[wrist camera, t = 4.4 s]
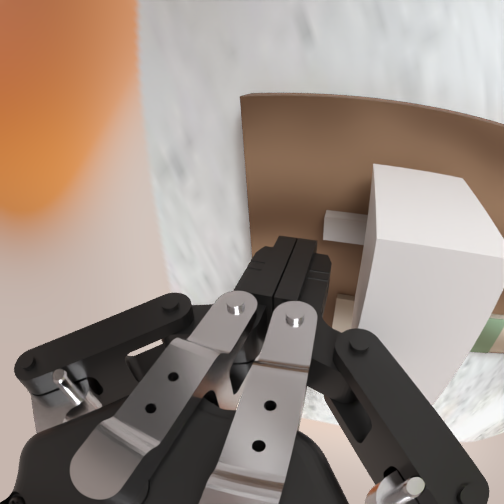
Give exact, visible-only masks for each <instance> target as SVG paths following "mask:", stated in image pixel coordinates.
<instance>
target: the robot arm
mask: <svg viewBox="0 0 504 504" xmlns="http://www.w3.org/2000/svg"><path fill="white" fill-rule="evenodd" d="M331 266H332V263H331V261H330V258H329V256H328V255H325V254H318V253H317V240H310V239H303V238H295V237H287V236H279V237H278V239H277V241H276V243H275V244H274V246H273V247H268V246H264V247H263V248H261V249H260V250H258V251H257V252H256V253H255V255H254V256H253V258H252V260H251V262H250V263H249V265H248V267H247V269H246V270H245V272H244V273H243V275H242V277H241V279H240V280H239V282H238V284H237V285H236V287H235V289H234V291H231V292H227V293H225V294H223V295H221V296H220V297H219V298H218V299H217V300H216V301H215V303H214V304H212V305H191V301H190V299H189V298H188V297H187V296H186V295H184V294H181V293H169V294H165V295H163V296H160V297H158V298H156V299H153V300H150V301H148V302H146V303H143V304H141V305H138V306H136V307H134V308H131V309H129V310H126V311H124V312H121V313H119V314H116V315H114V316H112V317H109V318H107V319H104V320H102V321H99V322H97V323H95V324H92V325H90V326H87V327H85V328H82V329H80V330H77V331H75V332H72V333H70V334H68V335H65V336H62V337H60V338H58V339H55V340H53V341H50V342H48V343H45V344H43V345H40V346H38V347H35V348H33V349H30V350H28V351H26V352H24V353H23V354H22V355H21V356H20V357H19V358H18V360H17V362H16V364H15V367H14V372H15V375H16V377H17V378H18V379H19V380H20V382H21V383H22V384H23V385H24V386H25V387H26V388H27V390H28V391H29V393H30V394H31V399H32V407H33V414H34V421H35V427H36V432H37V434H35V435H34V436H33V437H32V438H30V439H29V441H28V442H27V443H26V445H25V446H24V448H23V450H22V453H21V456H20V462H19V470H18V475H17V480H16V483H15V486H14V489H13V492H12V493H11V495H10V496H9V497H8V498H7V499H5V500H4V501H2V502H0V504H349V503H348V501H347V499H346V497H345V495H344V493H343V491H342V489H341V487H340V485H339V483H338V481H337V479H336V477H335V475H334V473H333V471H332V469H331V467H330V465H329V463H328V461H327V459H326V457H325V455H324V453H323V452H322V451H321V449H320V448H319V447H318V445H317V444H316V443H314V441H313V440H311V439H310V438H309V437H308V436H306V435H305V434H303V433H302V432H300V431H299V426H300V420H301V416H302V411H303V406H304V401H305V395H306V390H307V386H308V387H310V388H312V389H314V390H316V391H318V392H320V393H322V394H324V399H325V401H326V403H327V405H328V406H329V408H330V410H331V411H332V413H333V415H334V417H335V418H336V420H337V422H338V423H339V425H340V427H341V428H342V430H343V432H344V433H345V435H346V437H347V438H348V440H349V442H350V443H351V445H352V447H353V448H354V450H355V452H356V453H357V455H358V457H359V458H360V460H361V462H362V463H363V465H364V467H365V468H366V470H367V472H368V473H369V475H370V476H371V478H372V480H373V481H374V483H375V486H374V487H373V488H372V489H371V490H370V491H369V493H368V494H367V497H366V500H365V504H487V501H488V498H489V486H488V483H487V481H486V479H485V478H484V476H483V475H482V474H481V472H480V471H479V469H478V468H477V466H476V465H475V464H474V462H473V461H472V459H471V458H470V457H469V455H468V454H467V452H466V451H465V450H464V448H463V447H462V446H461V444H460V443H459V441H458V440H457V439H456V437H455V436H454V435H453V433H452V432H451V431H450V429H449V428H448V427H447V425H446V424H445V422H444V421H443V420H442V418H441V417H440V416H439V415H438V413H437V412H436V411H435V409H434V408H433V407H432V405H431V404H430V403H429V401H428V400H427V399H426V398H425V396H424V395H423V394H422V392H421V391H420V390H419V388H418V387H417V386H416V385H415V383H414V382H413V381H412V380H411V378H410V377H409V376H408V374H407V373H406V372H405V371H404V369H403V368H402V367H401V366H400V364H399V363H398V362H397V361H396V359H395V358H394V357H393V356H392V354H391V353H390V352H389V351H388V349H387V348H386V347H385V346H384V345H383V343H382V342H381V341H380V340H379V338H378V337H377V336H376V335H375V334H373V333H372V332H370V331H368V330H365V329H359V328H354V329H349V330H346V331H344V332H342V333H341V332H339V331H337V330H335V329H333V328H331V327H330V326H329V325H328V324H326V322H325V321H324V320H323V313H324V309H325V305H326V300H327V296H328V290H329V282H330V274H331ZM160 339H162V342H163V344H161V345H159V346H157V347H154V348H152V349H150V350H147V351H145V352H143V353H140V354H138V355H136V356H127V354H129V353H130V352H132V351H135V350H137V349H139V348H142V347H144V346H146V345H148V344H151V343H153V342H155V341H158V340H160ZM261 350H262V351H261ZM260 352H261V354H260ZM241 395H242V396H241ZM240 397H241V399H240V402H239V405H238V407H237V404H238V401H239V398H240ZM236 408H237V410H236Z"/></svg>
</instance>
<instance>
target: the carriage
mask: <svg viewBox="0 0 504 504" xmlns="http://www.w3.org/2000/svg"><path fill="white" fill-rule="evenodd" d="M503 289H504V239H503V237H502V236H501V234H500V232H499V231H498V229H497V227H496V226H495V224H494V223H493V221H492V219H491V218H490V216H489V215H488V213H487V212H486V210H485V209H484V207H483V206H482V204H481V203H480V202H479V200H478V199H477V197H476V196H475V194H474V193H473V192H472V190H471V189H470V188H469V186H468V185H467V183H466V182H465V181H464V179H463V178H459V177H454V176H449V175H444V174H438V173H433V172H427V171H421V170H415V169H408V168H402V167H395V166H388V165H380V164H373V172H372V183H371V193H370V202H369V210H368V218H367V226H366V233H365V240H364V247H363V254H362V260H361V266H360V272H359V278H358V283H357V289H356V294H355V301H354V309H353V317H352V324H351V329H354V328H359V329H365V330H368V331H370V332H372V333H373V334H375V335H376V336H377V337H378V338H379V340H380V341H381V342H382V343H383V345H384V346H385V347H386V348H387V349H388V351H389V352H390V353H391V354H392V356H393V357H394V358H395V359H396V361H397V362H398V363H399V364H400V366H401V367H402V368H403V369H404V371H405V372H406V373H407V374H408V376H409V377H410V378H411V380H412V381H413V382H414V383H415V385H416V386H417V387H418V388H419V390H420V391H421V392H422V394H423V395H424V396H425V398H426V399H427V400H428V401H429V403H430V404H431V405H433V404H434V403H435V402H436V400H437V399H438V398H439V396H440V395H441V394H442V392H443V391H444V390H445V388H446V387H447V385H448V384H449V383H450V381H451V380H452V378H453V377H454V375H455V374H456V372H457V371H458V369H459V368H460V366H461V365H462V363H463V362H464V360H465V359H466V357H467V355H468V354H469V352H470V350H471V349H472V347H473V346H474V344H475V342H476V340H477V339H478V337H479V335H480V334H481V332H482V330H483V328H484V326H485V325H486V323H487V321H488V319H489V317H490V315H491V313H492V311H493V309H494V307H495V305H496V303H497V301H498V299H499V297H500V295H501V293H502V291H503Z"/></svg>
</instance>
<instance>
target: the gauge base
mask: <svg viewBox="0 0 504 504" xmlns="http://www.w3.org/2000/svg"><path fill="white" fill-rule="evenodd" d="M240 103H241V116H242V129H243V142H244V155H245V169H246V182H247V195H248V208H249V221H250V234H251V247H252V258H253V256H254V255H255V253H256V252H257V251H258V250H260V249H261V248H263V247H264V246H268V247H273V246H274V244H275V243H276V241H277V239H278V237H279V236H287V237H295V238H303V239H310V240H317V253H318V254H325V255H328V256H329V258H330V261H331V263H332V266H331V274H330V282H329V290H328V296H327V300H326V305H325V309H324V313H323V320H324V321H325V322H326V324H328V325H329V326H330V327H331V328H333V329H335V330H337V331H339V332H341V333H342V332H344V331H346V330H349V329H351V324H352V317H353V309H354V301H355V294H356V289H357V283H358V278H359V272H360V266H361V260H362V254H363V247H364V240H365V233H366V226H367V218H368V210H369V202H370V193H371V183H372V172H373V164H380V165H388V166H395V167H402V168H408V169H415V170H421V171H427V172H433V173H438V174H444V175H449V176H454V177H459V178H463V179H464V181H465V182H466V183H467V185H468V186H469V188H470V189H471V190H472V192H473V193H474V194H475V196H476V197H477V199H478V200H479V202H480V203H481V204H482V206H483V207H484V209H485V210H486V212H487V213H488V215H489V216H490V218H491V219H492V221H493V223H494V224H495V226H496V227H497V229H498V231H499V232H500V234H501V236H502V237H503V239H504V124H501V123H498V122H494V121H491V120H487V119H483V118H480V117H476V116H472V115H468V114H464V113H459V112H455V111H450V110H446V109H441V108H436V107H431V106H425V105H419V104H413V103H407V102H401V101H393V100H386V99H378V98H369V97H359V96H347V95H332V94H311V93H251V94H247V95H244V96H240ZM470 352H481V353H488V352H491V353H504V289H503V291H502V293H501V295H500V297H499V299H498V301H497V303H496V305H495V307H494V309H493V311H492V313H491V315H490V317H489V319H488V321H487V323H486V325H485V326H484V328H483V330H482V332H481V334H480V335H479V337H478V339H477V340H476V342H475V344H474V346H473V347H472V349H471V350H470Z"/></svg>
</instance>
